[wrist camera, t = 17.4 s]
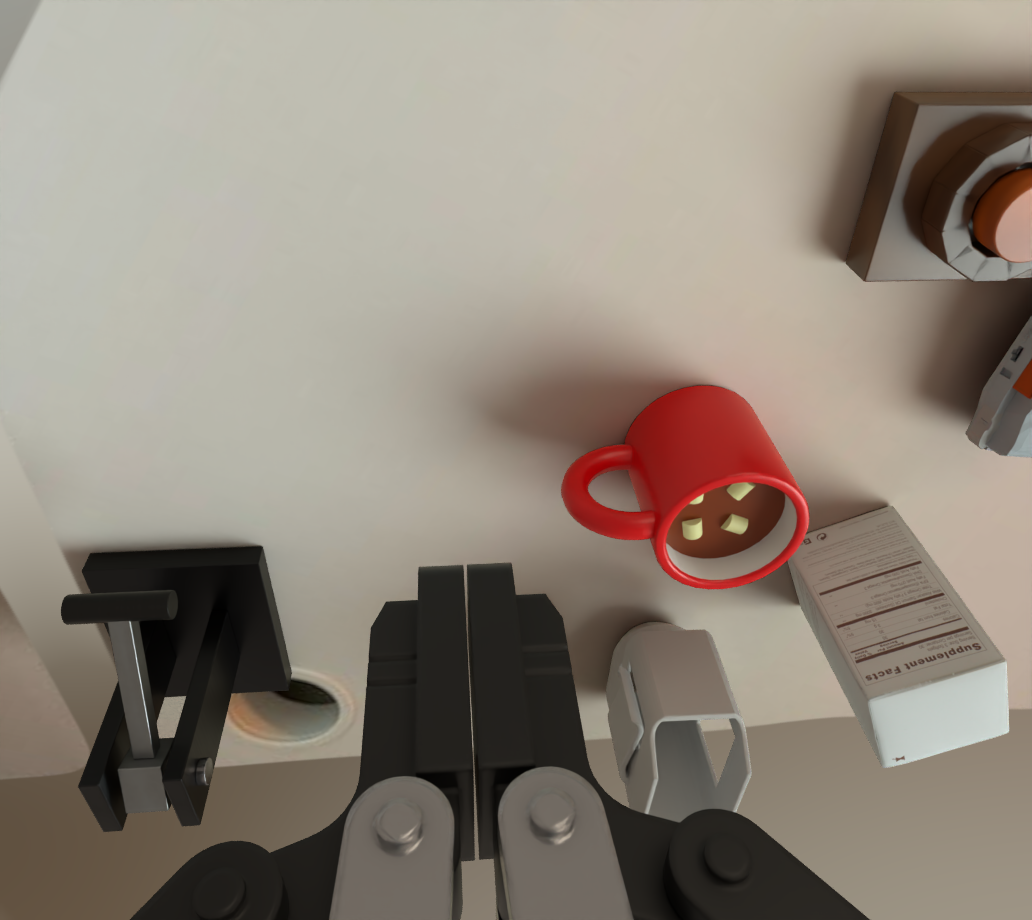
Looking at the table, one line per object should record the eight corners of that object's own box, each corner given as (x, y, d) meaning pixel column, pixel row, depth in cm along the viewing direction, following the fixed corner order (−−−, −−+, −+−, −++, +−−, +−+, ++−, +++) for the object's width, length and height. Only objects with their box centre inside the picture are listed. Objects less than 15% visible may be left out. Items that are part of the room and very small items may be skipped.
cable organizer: (704, 591, 53) (763, 750, 44) (672, 704, 61) (717, 860, 51) (607, 594, 53) (646, 755, 43) (587, 707, 60) (616, 866, 51)
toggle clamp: (89, 552, 47) (-5, 745, 36) (262, 545, 47) (217, 732, 37) (142, 680, 54) (76, 871, 44) (292, 672, 55) (260, 857, 45)
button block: (893, 91, 35) (940, 114, 32) (1106, 91, 36) (1172, 114, 32) (844, 263, 40) (880, 298, 36) (1032, 260, 40) (1083, 294, 37)
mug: (551, 397, 43) (572, 488, 37) (768, 380, 43) (825, 467, 37) (552, 507, 48) (571, 604, 41) (748, 490, 48) (795, 584, 42)
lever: (75, 585, 40) (53, 608, 37) (178, 580, 40) (162, 603, 38) (115, 783, 43) (97, 816, 41) (209, 777, 44) (196, 809, 41)
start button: (989, 167, 33) (1013, 180, 32) (1069, 166, 34) (1097, 179, 32) (959, 248, 36) (980, 264, 34) (1034, 247, 36) (1058, 262, 35)
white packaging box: (904, 574, 54) (1012, 736, 44) (798, 608, 55) (880, 774, 45) (894, 500, 50) (1012, 661, 40) (780, 538, 51) (866, 704, 41)
